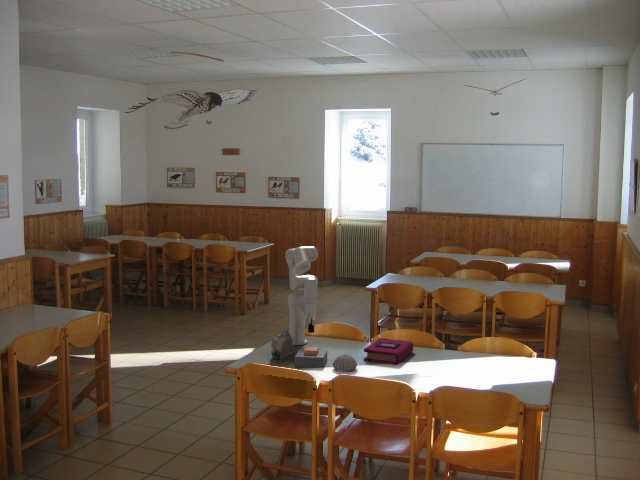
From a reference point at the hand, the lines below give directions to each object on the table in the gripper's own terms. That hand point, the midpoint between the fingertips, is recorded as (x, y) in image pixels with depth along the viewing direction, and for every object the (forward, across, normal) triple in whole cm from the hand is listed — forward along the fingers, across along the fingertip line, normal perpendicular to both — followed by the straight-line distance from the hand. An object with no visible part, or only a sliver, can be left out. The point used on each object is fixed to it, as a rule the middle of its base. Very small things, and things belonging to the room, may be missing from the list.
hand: (311, 332), depth 373 cm
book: (+18, -18, +42) cm, 50 cm away
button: (+13, -1, 0) cm, 13 cm away
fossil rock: (+18, -12, -20) cm, 29 cm away
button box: (+18, -1, 0) cm, 18 cm away
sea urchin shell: (+18, +9, +20) cm, 28 cm away
